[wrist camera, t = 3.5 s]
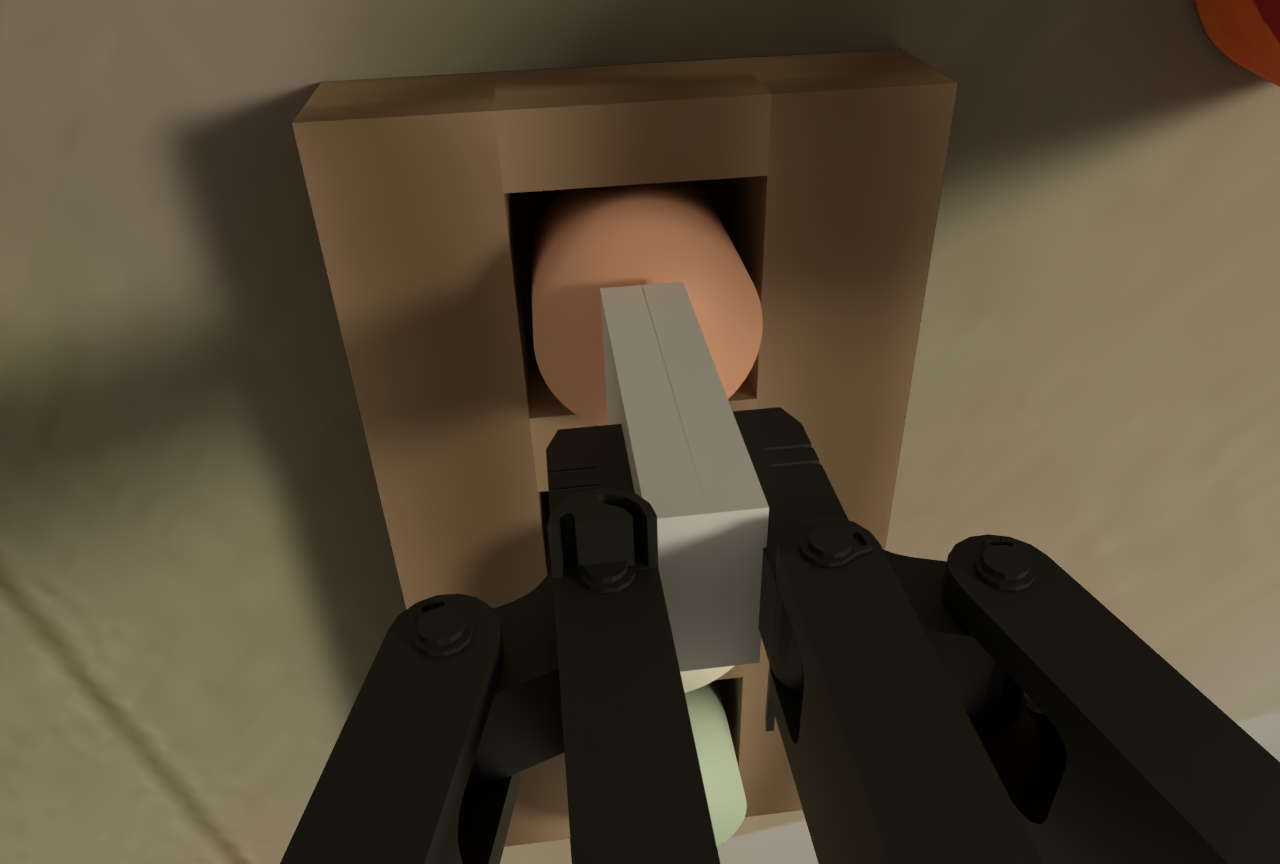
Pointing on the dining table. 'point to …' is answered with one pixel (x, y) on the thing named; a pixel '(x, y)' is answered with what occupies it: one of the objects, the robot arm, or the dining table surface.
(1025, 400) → the dining table surface
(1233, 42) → the coffee cup
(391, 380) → the walnut panel
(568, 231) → the brown egg
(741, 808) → the pale green rounded block
